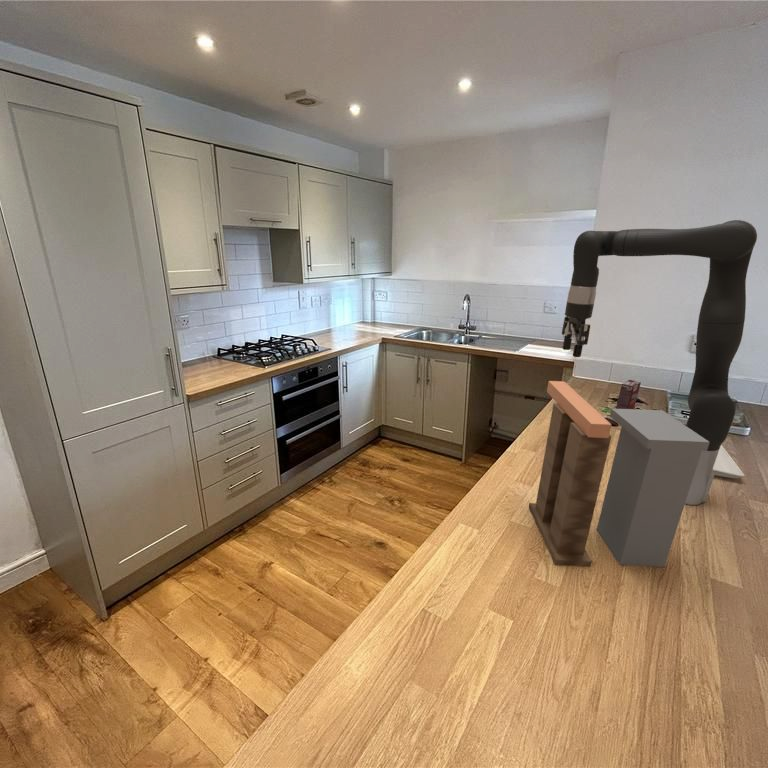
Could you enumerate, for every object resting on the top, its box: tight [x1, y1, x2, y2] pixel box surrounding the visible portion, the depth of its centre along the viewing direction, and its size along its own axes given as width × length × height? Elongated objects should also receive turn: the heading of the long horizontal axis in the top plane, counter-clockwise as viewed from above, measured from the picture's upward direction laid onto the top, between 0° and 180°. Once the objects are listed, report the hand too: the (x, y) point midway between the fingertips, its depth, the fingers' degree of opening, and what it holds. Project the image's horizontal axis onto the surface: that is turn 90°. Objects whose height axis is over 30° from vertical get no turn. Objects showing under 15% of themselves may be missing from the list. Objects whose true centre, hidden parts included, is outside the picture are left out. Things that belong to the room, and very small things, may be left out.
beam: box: [546, 380, 612, 438], centre depth 96 cm, size 26×4×3 cm, turn 177°
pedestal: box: [596, 408, 710, 568], centre depth 96 cm, size 12×16×32 cm
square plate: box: [712, 444, 745, 479], centre depth 143 cm, size 27×27×4 cm
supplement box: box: [615, 379, 641, 409], centre depth 169 cm, size 9×5×16 cm, turn 132°
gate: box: [528, 402, 612, 568], centre depth 98 cm, size 8×21×32 cm, turn 178°
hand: (571, 353), depth 130 cm, fingers open, 8 cm apart
